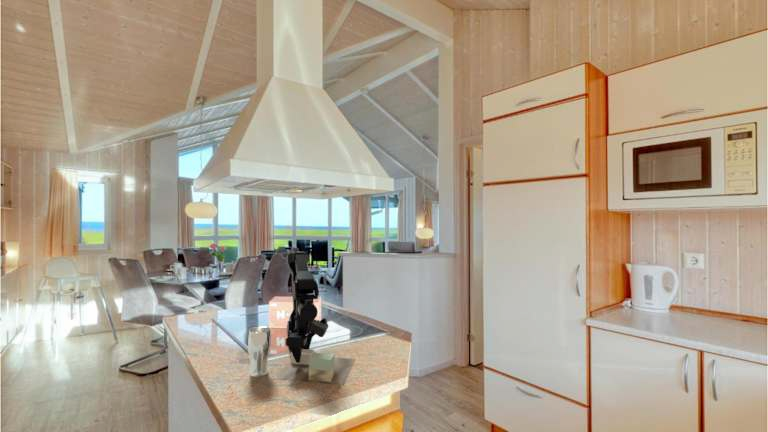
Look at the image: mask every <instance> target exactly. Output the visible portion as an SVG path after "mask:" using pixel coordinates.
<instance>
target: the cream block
mask: <svg viewBox="0 0 768 432" xmlns="http://www.w3.org/2000/svg"><path fill="white" fill-rule="evenodd" d="M313 353H315V349H310V348H309V349H302V353H301V359H300V362H299V363H296V361H295V359H294V356H293V354H292V352H290V362H289V363H293V364H306V365H309V358H310V357H311V355H312V354H313Z"/></svg>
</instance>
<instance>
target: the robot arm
mask: <svg viewBox="0 0 768 432" xmlns="http://www.w3.org/2000/svg"><path fill="white" fill-rule="evenodd" d="M308 265H309V254H308V253H307V252H306V251H294V252H293V253H289V254H287V255H286V266H287V271H288V272H289V273H290V275H291V281H292V282H291V283H292V311H291V313H290V315H289V318H288V320H287V322H286V336H287V337H286V338H285V346H286V347H287V348H288V350H290V353H292V354H293V356H294V359H295V361H296V363H299V362H300V359H301V353H302V349H309V350H310V347H311V343H312V340H313V337H314V336H315V335H316V336H318V337H320V338H323V337H324V336H325V335H326V333H327V332H328V331H327V330H328V328H329V324H328V320H327V318H324V317H323V318H322V319H321V320H319V319H318V320H317V319H316V318H317V315H318V314H319V313H318V312H319V311H318V309H317V307H316V305H315V303H314V300H318V299H319V298H318V297H319V294H320V293H319V284H318V281H317V280H315V277H314V274H312V273H310V271H309V266H308Z"/></svg>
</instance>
